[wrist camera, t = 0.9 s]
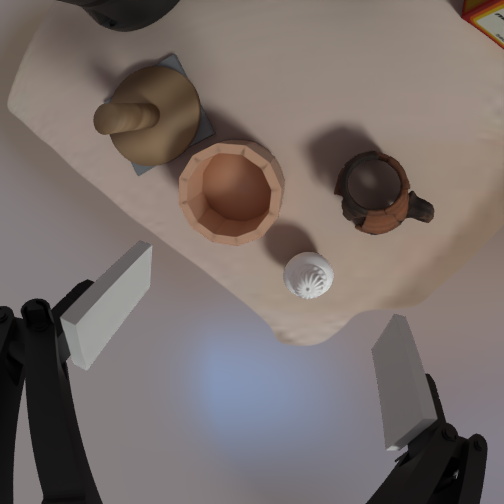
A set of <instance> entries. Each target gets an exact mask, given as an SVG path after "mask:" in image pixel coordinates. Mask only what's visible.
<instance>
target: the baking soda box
mask: <svg viewBox="0 0 504 504" xmlns="http://www.w3.org/2000/svg"><path fill="white" fill-rule="evenodd" d="M461 18H462V19H464V20H465V21H467V22H468V23H470V24H471V25H473V26H474V27H475V28H477V29H478V30H480V31H481V32H482V33H484V34H485V35H486V36H488V37H489V38H490V39H492V40H493V41H494V42H495V43H497V44H498V45H499V46H500V47H501V48H503V49H504V0H464V4H463V10H462V16H461Z"/></svg>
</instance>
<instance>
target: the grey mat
mask: <svg viewBox="0 0 504 504" xmlns="http://www.w3.org/2000/svg"><path fill="white" fill-rule="evenodd" d="M155 66H160V67H166V68H170V69H173V70H176V71H178V72H180V73H181V74H183V75H184V76H185V77H187V76H186V74H185V72H184V70H183V68H182V66H181V64H180V62H179V60H178V58H177V56H176V55H175V54H173V55H171V56H170V57H168V58H166V59H165V60H163V61H162V62H160V63H158V64H157V65H155ZM112 97H113V96H112ZM112 97H111V98H110V99H109V100H107V101H106V102H105V103H110V102H111V99H112ZM105 103H104V104H105ZM214 134H215V132H214V130H213V128H212V126H211V124H210V122H209V120H208V118H207V116H206V114H205V112H204V110H203V108H202V106H201V119H200V125H199V129H198V131H197V134H196V136H195V138H194V140H193V142H192V143H191V144H190V146H192V145H194V144H196V143H198V142H200V141H202V140H204V139H206V138H208V137H210V136H212V135H214ZM190 146H189V147H190ZM189 147H188V148H189ZM131 163H132V165H133V167H134V169H135V171H136V173H137V175H138V176H140V175H142V174H143V173H145V172H147V171H148V170H150V169H152V168H153V167H155V166H142V165H138V164H135V163H133V162H131ZM156 166H157V165H156Z"/></svg>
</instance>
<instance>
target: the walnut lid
mask: <svg viewBox="0 0 504 504" xmlns="http://www.w3.org/2000/svg"><path fill="white" fill-rule="evenodd" d="M200 119H201V104H200V99H199V96H198V93H197V91H196V89H195V87H194V86H193V84H192V83H191V82H190V80H189V79H188V78H187V77H185V76H184V75H183V74H181V73H180V72H178V71H176V70H173V69H170V68H166V67H160V66H152V67H146V68H143V69H140V70H138V71H136V72H134V73H133V74H131V75H130V76H128V77H127V78H126V79H125V80H124V81H123V82H122V83H121V84H120V85H119V87H118V88H117V90H116V91H115V93H114V95H113V97H112V99H111V102H110V103H105V104H102V105H101V106H99V107H98V109H97V110H96V112H95V114H94V126H95V129H96V130H97V131H98V132H99V133H100V134H103V135H107V134H110V137H111V139H112V142H113V144H114V145H115V147H116V148H117V150H118V151H119V152H120V153H121V154H122V155H123V156H124V157H125V158H126V159H128V160H129V161H131V162H133V163H135V164H138V165H142V166H156V165H161V164H164V163H167V162H169V161H171V160H173V159H175V158H177V157H178V156H180V155H181V154H182V153H183V152H185V150H186V149H187V148H188V147H189V146H190V144H191V143H192V142H193V140H194V138H195V136H196V134H197V131H198V129H199V125H200Z"/></svg>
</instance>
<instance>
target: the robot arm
mask: <svg viewBox="0 0 504 504" xmlns="http://www.w3.org/2000/svg"><path fill="white" fill-rule="evenodd" d="M58 1H62V2H66V3H70V4H74V5H78V6H81V7H83V9H84V10H85V11H86V12H87V13H88V14H89V15H90V16H91V17H92V18H93V19H94V20H95V21H96V22H97V23H98V24H100V25H101V26H103V27H105V28H108V29H112V30H115V31H121V32H127V31H134V30H138V29H141V28H144V27H146V26H148V25H150V24H152V23H154V22H156V21H157V20H159V19H160V18H162V17H163V16H164V15H166V14H167V13H168V12H169V11H170V10H171V9H172V8H173V7H174V6H175V5H176V4H177V3H178V2H179V1H180V0H58ZM151 257H152V244H149V243H145V242H143V241H138V242H137V243H136V244H135V245H134V246H133V247H132V248H131V249H130V250H129V251H127V252H126V253H125V254H124V255H123V256H122V257H121V258H120V259H119V260H118V261H117V262H116V263H115V264H113V265H112V266H111V267H110V268H109V269H108V270H107V271H106V272H105V273H104V274H103V275H102V276H101V277H100V278H99V279H98V280H96V282H93V281H90V280H88V279H87V280H85V281H83V282H81V283H79V284H77V285H76V286H75V287H74V288H73V289H72V290H71V291H70V292H69V293H68V294H67V295H66V297H64V298H63V299H62V300H61V301H60V302H59V303H58V304H57V305H56V306H55V307H53V309H52V310H51V308H50V305H49V303H48V302H47V301H46V300H43V299H32V300H29V301H27V302H26V303H25V304H24V305H23V306H22V308H21V314H22V317H23V319H21V318H17V317H14V314H13V311H12V309H10V308H9V307H7V306H0V504H13V467H14V450H15V439H16V429H17V421H18V414H19V407H20V401H21V395H22V390H23V385H24V380H25V381H26V382H25V383H26V398H27V410H28V419H29V427H30V434H31V440H32V447H33V452H34V458H35V462H36V467H37V471H38V476H39V480H40V484H41V488H42V491H43V501H42V504H103V503H102V501H101V498H100V496H99V493H98V490H97V487H96V485H95V482H94V479H93V476H92V473H91V470H90V467H89V464H88V460H87V457H86V454H85V450H84V447H83V443H82V439H81V435H80V431H79V427H78V423H77V418H76V414H75V409H74V404H73V399H72V393H71V387H70V381H69V375H68V367H67V363H66V360H67V359H68V358H69V356H70V355H71V358H72V362H73V364H75V365H77V366H79V367H81V368H83V369H85V370H88V369H89V367H90V366H91V365H92V363H93V362H94V360H95V359H96V358H97V356H98V355H99V353H100V352H101V351H102V349H103V348H104V347H105V345H106V344H107V342H108V341H109V340H110V338H111V337H112V336H113V334H114V333H115V332H116V330H117V329H118V328H119V326H120V325H121V324H122V322H123V321H124V320H125V318H126V317H127V316H128V314H129V313H130V312H131V311H132V309H133V308H134V307H135V305H136V304H137V303H138V301H139V300H140V299H141V298H142V296H143V295H144V294H145V293H146V291H147V290H148V289H149V288H150V275H151ZM372 355H373V360H374V365H375V371H376V378H377V384H378V390H379V397H380V404H381V412H382V419H383V428H384V437H385V447H386V450H400V449H402V448H403V447H405V446H406V445H408V451H407V452H405V453H404V454H403V455H402V456H400V457H399V458H397V459H396V460H395V462H397V461H398V460H399V462H398V463H397V465H396V466H395V468H394V469H393V470H392V471H391V473H390V474H389V476H388V477H387V478H386V480H385V481H384V482H383V483H382V485H381V486H380V487H379V488H378V490H377V491H376V492H375V493H374V495H373V496H372V497H371V498H370V499H369V501H368V502H367V503H366V504H480V498H481V494H482V488H483V482H484V475H485V468H486V460H487V443H486V440H485V439H484V437H483V436H481V435H480V434H474V435H472V436H471V437H470V438H469V439H466V438H463V437H460V436H458V433H457V431H456V429H455V428H454V427H453V426H452V425H451V424H449V423H446V420H445V416H444V413H443V409H442V405H441V402H440V399H439V395H438V393H437V388H436V385H435V382H434V380H433V379H432V377H431V376H430V374H425V372H424V369H423V365H422V362H421V359H420V356H419V353H418V350H417V347H416V344H415V341H414V338H413V336H412V333H411V330H410V327H409V325H408V322H407V319H406V317H404V316H401V315H397V314H394V315H393V317H392V318H391V320H390V322H389V323H388V325H387V326H386V328H385V330H384V331H383V333H382V334H381V336H380V338H379V339H378V341H377V342H376V344H375V345H374V347H373V348H372ZM457 474H458V476H457V479H456V475H457Z"/></svg>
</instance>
